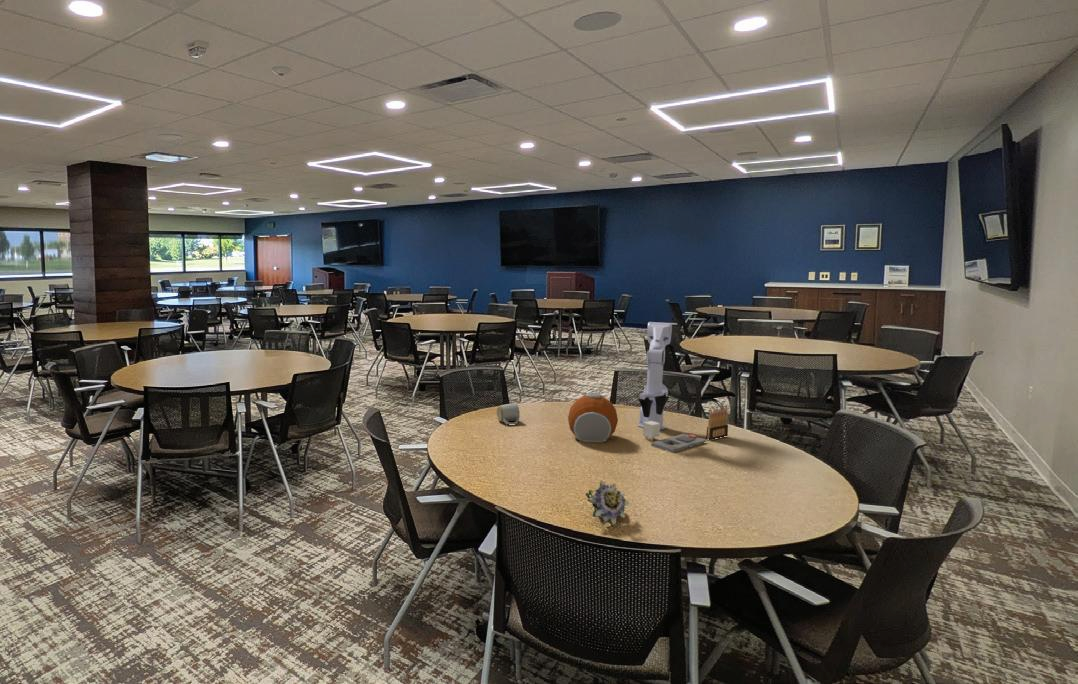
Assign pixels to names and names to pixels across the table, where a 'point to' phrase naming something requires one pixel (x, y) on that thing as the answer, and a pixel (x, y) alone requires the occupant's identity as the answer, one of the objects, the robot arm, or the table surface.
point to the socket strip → (678, 442)
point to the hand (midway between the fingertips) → (652, 415)
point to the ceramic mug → (508, 413)
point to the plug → (651, 429)
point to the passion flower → (608, 502)
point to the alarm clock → (592, 418)
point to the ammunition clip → (717, 424)
